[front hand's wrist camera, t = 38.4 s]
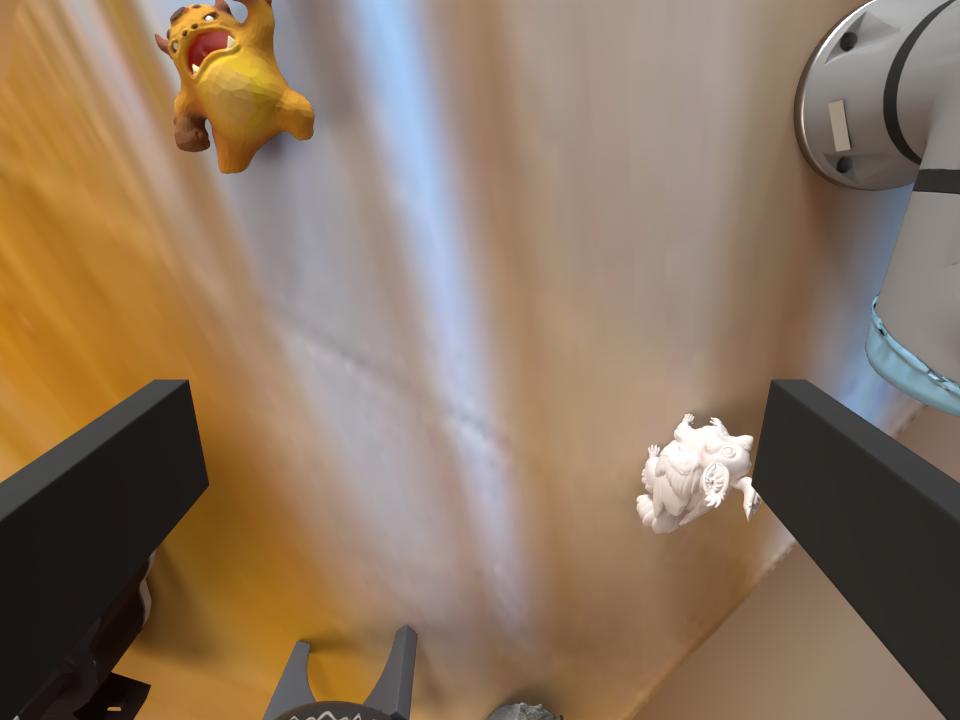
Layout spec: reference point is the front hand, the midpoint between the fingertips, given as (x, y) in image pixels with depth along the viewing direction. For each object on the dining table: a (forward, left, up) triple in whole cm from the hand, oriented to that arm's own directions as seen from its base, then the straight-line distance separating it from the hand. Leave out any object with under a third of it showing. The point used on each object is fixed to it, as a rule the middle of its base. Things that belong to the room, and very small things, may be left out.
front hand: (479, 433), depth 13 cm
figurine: (-16, +28, -41) cm, 52 cm away
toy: (+17, -16, -41) cm, 47 cm away
